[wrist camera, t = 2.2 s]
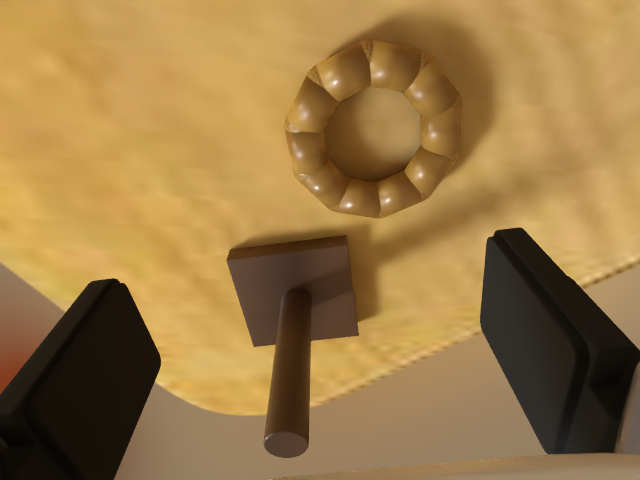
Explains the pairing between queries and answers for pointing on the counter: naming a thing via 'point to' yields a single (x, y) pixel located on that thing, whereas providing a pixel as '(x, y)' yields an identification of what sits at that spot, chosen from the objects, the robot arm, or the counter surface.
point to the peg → (293, 322)
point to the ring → (351, 77)
